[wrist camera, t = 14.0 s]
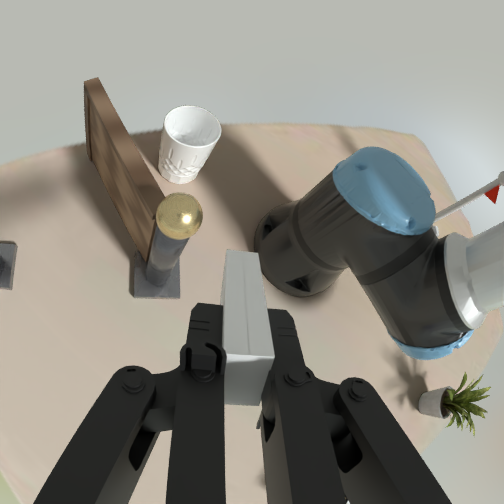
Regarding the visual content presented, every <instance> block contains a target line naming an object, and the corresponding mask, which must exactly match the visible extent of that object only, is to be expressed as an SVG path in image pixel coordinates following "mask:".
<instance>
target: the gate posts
mask: <svg viewBox="0 0 504 504" xmlns="http://www.w3.org/2000/svg"><path fill="white" fill-rule="evenodd" d="M202 219H203V212H202V208H201V206H200V204H199V202H198V201H197V200H196V199H195V198H194V197H193V196H191V195H189V194H187V193H182V192H177V193H173V194H170V195H168V196H167V197H165V198H164V199H163V200H162V201H161V202H160V204H159V206H158V208H157V211H156V221H157V227H156V231H155V235H154V239H153V243H152V247H151V252H150V256H149V261H147V262H145V260H144V258H143V257H142V255H141V253H140V251H135V270H134V298H151V299H180V268H179V256H180V255H181V253H182V251H183V249H184V247H185V245H186V243H187V242H188V240H189V238H190V237H191V236H192V235H194V234H195V233H196V232H197V231H198V229H199V228H200V226H201V223H202ZM16 252H17V246H16V245H15V244H3V243H0V289H9V290H12V284H13V275H14V266H15V259H16Z"/></svg>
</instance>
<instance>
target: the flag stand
mask: <svg viewBox="0 0 504 504" xmlns="http://www.w3.org/2000/svg"><path fill="white" fill-rule="evenodd" d="M501 185H503V186H504V171H503V172H501V173H500V174H499V176H498V179H496V180H494V181H493V182H491V183H489V184H488V185H486V186H484V187H483V188H481V189H479V190H477V191H476V192H474V193H472V194H470V195H469V196H467V197H465V198H463V199H462V200H460V201H458V202H456V203H455V204H453V205H451V206H449V207H447V208H446V209H444V210H442V211H440V212H438V213H437V214H436V215H435V220H434V222H436V221H438V220H440V219H442V218H444V217H445V216H447V215H449V214H451V213H453V212H455V211H457V210H458V209H460V208H462V207H464V206H466V205H467V204H469V203H471V202H473V201H475V200H476V199H478V198H480V197H482V196H484V195H486V196H487V197H488V198H489V199H490V200H491V201H492V202H493V203H494V204H495V203H496V199H497V195H498V191H499V186H501ZM431 227H432V229H433V231H434V233H435V234H436V236H437V237H438V236H439V231H438V227H437V226H434V227H433V224H432V226H431Z"/></svg>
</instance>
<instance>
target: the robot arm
mask: <svg viewBox="0 0 504 504" xmlns="http://www.w3.org/2000/svg"><path fill="white" fill-rule="evenodd" d="M430 195H431V193H430V191H429V189H428V187H427V185H426V184H425V182H424V181H423V179H422V178H421V177H420V176H419V174H418V173H417V172H416V171H415V170H414V169H413V168H412V167H411V166H410V165H409V164H408V163H407V162H406V161H405V160H404V159H402V158H401V157H399V156H398V155H396V154H395V153H392V152H390V151H388V150H386V149H383V148H379V147H365V148H362V149H360V150H358V151H356V152H355V153H354V154H352V155H351V156H350V157H348V158H347V159H346V160H343V161H341V162H339V163H338V164H337V165H336V167H335V168H334V170H333V171H332V172H331V173H330V174H329V175H327V176H326V177H325V178H324V179H323V180H322V181H321V182H320V183H319V184H317V185H316V186H315V187H314V188H313V189H312V190H311V191H310V192H308V193H307V194H306V195H305V196H304V197H303V198H302V199H300V200H297V201H293V202H290V203H286V204H283V205H280V206H278V207H276V208H274V209H273V210H272V211H270V212H269V213H268V214H267V215H266V216H265V217H264V218H263V219H262V221H261V222H260V224H259V225H258V228H257V230H256V234H255V240H254V248H255V253H254V252H246V251H237V250H228V249H227V251H226V258H225V266H224V274H223V282H222V290H221V301H220V305H215V304H205V303H197V305H196V306H195V307H194V308H193V309H192V310H191V316H190V322H189V329H188V334H187V341H186V344H185V345H183V347H182V349H181V351H180V366H178V367H177V368H176V369H174V370H172V371H170V372H166V373H160V374H151V373H150V372H149V371H148V370H146V369H145V368H143V367H139V366H126V367H123V368H121V369H119V370H118V371H117V372H116V373H115V374H114V375H113V376H112V378H111V379H110V381H109V382H108V384H107V385H106V387H105V388H104V389H103V391H102V393H101V394H100V396H99V397H98V399H97V400H96V402H95V403H94V405H93V406H92V408H91V409H90V411H89V412H88V414H87V415H86V417H85V419H84V420H83V422H82V423H81V425H80V426H79V428H78V429H77V431H76V433H75V434H74V436H73V437H72V439H71V441H70V442H69V444H68V445H67V447H66V449H65V450H64V452H63V454H62V455H61V457H60V459H59V460H58V462H57V463H56V465H55V467H54V469H53V470H52V472H51V474H50V475H49V477H48V479H47V480H46V482H45V484H44V486H43V487H42V489H41V491H40V493H39V494H38V496H37V498H36V500H35V501H34V503H33V504H128V502H129V500H130V498H131V496H132V493H133V491H134V489H135V487H136V484H137V482H138V480H139V478H140V476H141V473H142V471H143V469H144V467H145V465H146V462H147V460H148V458H149V456H150V454H151V451H152V449H153V447H154V445H155V443H156V440H157V438H158V436H159V434H160V432H161V431H168V430H172V438H171V447H170V457H169V468H168V479H167V492H166V504H226V491H225V436H224V404H230V405H251V406H259V404H260V401H261V400H262V411H261V414H260V417H259V420H258V422H257V427H256V429H259V428H260V426H261V437H262V448H263V459H264V470H265V481H266V492H267V502H268V504H346V499H345V495H346V497H347V499H348V501H349V502H350V504H452V503H451V502H450V500H449V499H448V497H447V496H446V494H445V492H444V491H443V489H442V488H441V486H440V485H439V483H438V482H437V480H436V479H435V477H434V476H433V474H432V472H431V471H430V469H429V468H428V467H427V465H426V464H425V462H424V460H423V459H422V458H421V456H420V455H419V453H418V452H417V450H416V449H415V447H414V446H413V444H412V443H411V441H410V440H409V438H408V437H407V435H406V434H405V432H404V431H403V429H402V428H401V427H400V425H399V424H398V422H397V421H396V419H395V418H394V416H393V415H392V413H391V412H390V411H389V409H388V408H387V406H386V405H385V403H384V402H383V400H382V399H381V398H380V396H379V395H378V393H377V392H376V390H375V389H374V388H373V386H372V385H371V384H370V383H369V382H367V381H365V380H363V379H361V378H356V377H353V378H347V379H345V380H343V381H342V383H341V384H340V385H339V384H334V383H330V382H326V381H323V380H320V379H318V378H316V377H315V376H314V374H313V372H312V371H311V370H310V369H309V368H308V367H306V366H305V363H304V359H303V355H302V351H301V347H300V343H299V339H298V337H297V331H296V329H295V328H296V327H295V324H294V320H293V318H292V316H291V315H290V314H289V313H288V312H287V310H280V309H267V305H266V298H265V292H264V286H263V280H262V274H261V270H262V272H263V273H264V275H265V276H266V277H267V279H268V280H269V281H270V282H271V283H272V284H273V285H274V286H276V287H277V288H278V289H280V290H281V291H283V292H285V293H287V294H290V295H293V296H299V297H305V296H311V295H314V294H316V293H319V292H321V291H323V290H325V289H327V288H328V287H329V286H330V285H331V284H332V283H333V282H334V281H335V280H336V279H337V278H338V276H339V275H340V274H341V273H342V272H343V271H344V269H345V268H348V267H349V268H350V269H351V271H352V272H353V274H354V275H355V277H356V278H357V280H358V281H359V283H360V285H361V286H362V288H363V289H364V291H365V293H366V294H367V296H368V298H369V299H370V301H371V303H372V304H373V306H374V308H375V309H376V311H377V313H378V314H379V316H380V318H381V319H382V321H383V323H384V325H385V326H386V328H387V331H388V333H389V335H390V336H391V338H392V339H393V340H394V341H395V342H396V343H397V345H398V346H399V348H400V349H401V350H402V351H403V352H404V353H405V354H406V355H408V356H410V357H412V358H415V359H419V360H432V359H437V358H441V357H444V356H446V355H449V354H451V353H452V349H453V348H460V347H461V346H463V345H464V344H465V343H466V342H467V341H468V339H469V338H470V336H471V335H472V333H473V331H474V329H477V328H479V327H480V326H481V325H482V323H483V322H484V320H485V318H486V316H487V314H488V312H489V311H492V310H495V309H498V308H501V307H503V306H504V222H502V223H500V224H498V225H496V226H494V227H492V228H490V229H488V230H486V231H484V232H482V233H480V234H478V235H476V236H474V237H472V238H470V239H469V238H466V237H464V236H462V235H460V234H458V233H451V234H449V235H447V236H445V237H443V238H440V239H438V238H437V236H436V234H435V233H434V231H433V229H432V227H431V226H432V224H433V223H434V220H435V215H436V211H435V205H434V201H433V200H432V199H431V198H430ZM344 493H345V495H344Z"/></svg>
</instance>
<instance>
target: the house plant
mask: <svg viewBox="0 0 504 504" xmlns="http://www.w3.org/2000/svg"><path fill="white" fill-rule="evenodd" d="M481 378H482V376H481V377H480V378H479V380H477V381H476V382H475V383H474V384H473V385H472V386H471V387H470V386H469V388H468V387H467V388H466V389H465V390H463V391H462V392H460V393H459V394H456V393H457V392H459V391H460V390H461V389H462V387H463V386H464V384H465V382H466V380H467V375H466V372H465V374H464V377H463V380H462V382H461V385H460V387H459V388H458V389H457V390H456V391H455V389H453V388H452V387H450V386H448V387H444V388H440V389H437V390H433V391H429V392H425V393H423V394H422V395H421V397H420V400H419V406H418V407H419V411H420V413H421V414H425V415H429V416H434V417H438V418H443V419H445V418H447V417H448V416H449V415H450V414H451V412H452V413H453V417H452V419H451V421H450V423H449V424H448V426H451V425H452V423H453V422H454V419H455V417H456V421H457V426H458V427H459V426H460V424H461V427H462V429H463V424H462V421H461V418H460V416H459V414H458V413H457V412H459V413H460V414H461V415H462V418H463V422H464V420H465V418H466V420H467V421H468V423H467V426H468V424H469V425H470V432H471V427H472V428H473V434H475V429H474V424H473V421H472V419H471V416H470V412H471V413H473V414H475V415H479V416H481V417H482V418H485V417H484V414H483V413H482V412H487V411H486V410H484V409H482V408H480V407H479V406H477V405H475V404H472V403H470V402H475V401H479V400H481V399H483V398H486V397H488V396H489V395H486V396H481V395H483V394H484V393H485V392H486V391H488V390H489V389H490V388H491V387H488V388H483V389H480V390H474V391H470V390H471V389H473V388H474V387H475V386H476V385H477V384H478V383H479V381H480V380H481ZM473 380H474V379H473ZM472 382H473V381H472ZM472 382H471V383H472ZM455 394H456V395H455ZM478 396H480V397H478ZM462 408H463V409H462ZM454 409H455V410H454ZM464 409H465V410H466V411H467V412H468V413H467V412H466V411H465V410H464ZM465 415H466V416H465ZM450 417H451V416H450ZM471 425H472V426H471ZM448 426H447V427H448Z"/></svg>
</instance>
